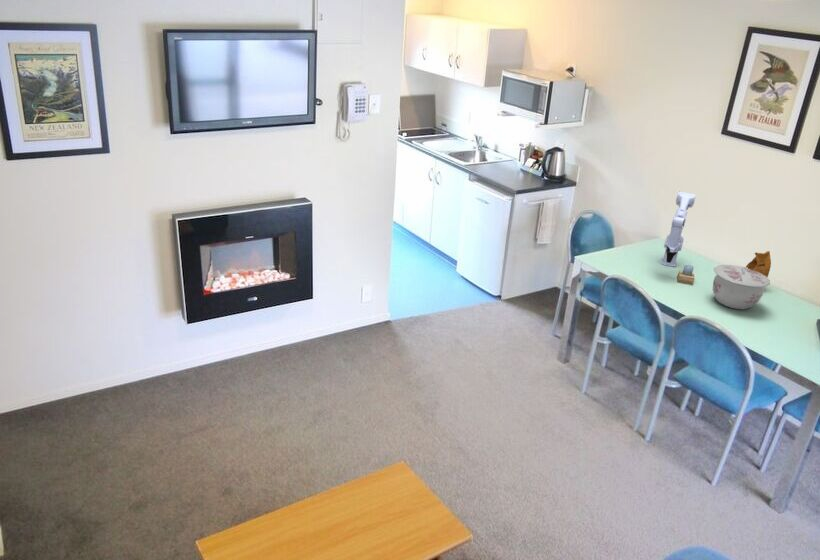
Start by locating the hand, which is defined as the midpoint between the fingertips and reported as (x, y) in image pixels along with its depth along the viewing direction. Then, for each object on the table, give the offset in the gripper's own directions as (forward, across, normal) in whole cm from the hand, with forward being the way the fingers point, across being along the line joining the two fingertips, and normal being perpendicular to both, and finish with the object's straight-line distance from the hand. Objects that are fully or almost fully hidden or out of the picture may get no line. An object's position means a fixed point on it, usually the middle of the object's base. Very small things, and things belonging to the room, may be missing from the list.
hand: (668, 260), depth 377 cm
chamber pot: (+11, +18, +36) cm, 42 cm away
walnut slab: (+11, 0, +11) cm, 16 cm away
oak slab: (+9, 0, +11) cm, 14 cm away
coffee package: (+11, -11, +47) cm, 49 cm away
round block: (+6, 0, +12) cm, 13 cm away
